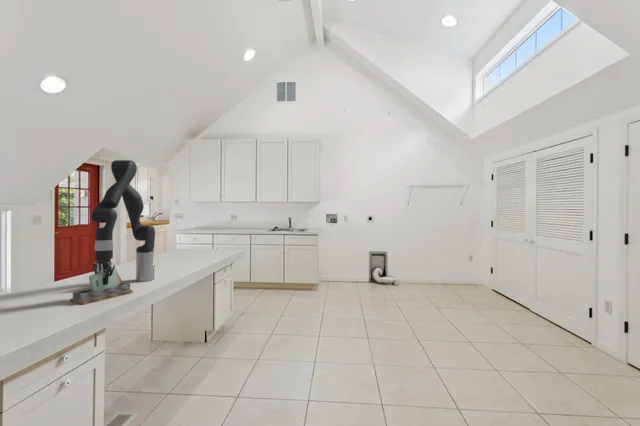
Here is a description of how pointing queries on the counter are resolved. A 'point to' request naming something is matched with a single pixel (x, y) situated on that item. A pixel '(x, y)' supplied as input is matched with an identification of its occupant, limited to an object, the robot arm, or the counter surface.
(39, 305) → the counter surface
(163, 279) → the counter surface
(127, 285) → the door track
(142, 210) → the robot arm
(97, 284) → the door panel
